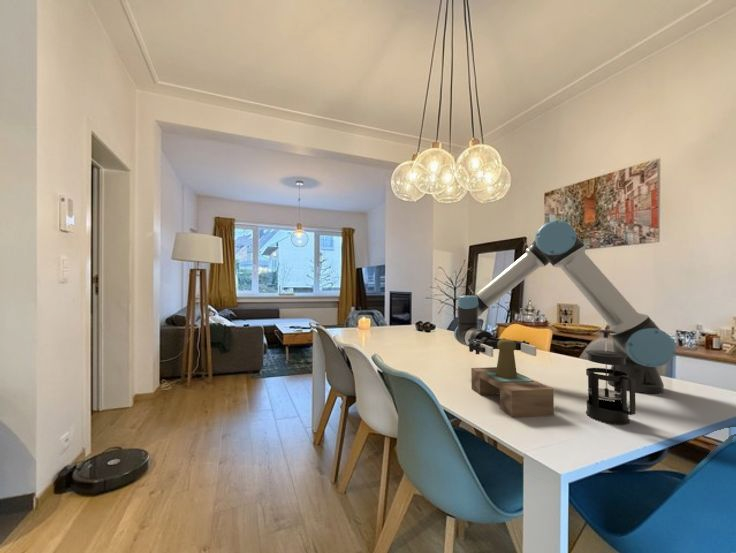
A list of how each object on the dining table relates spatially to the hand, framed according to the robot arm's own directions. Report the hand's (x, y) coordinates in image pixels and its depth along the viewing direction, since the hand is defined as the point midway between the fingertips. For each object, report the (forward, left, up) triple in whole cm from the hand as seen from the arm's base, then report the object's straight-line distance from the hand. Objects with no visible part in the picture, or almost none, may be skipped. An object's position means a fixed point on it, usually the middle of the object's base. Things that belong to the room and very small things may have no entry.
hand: (513, 351), depth 96 cm
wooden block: (+3, -2, -15) cm, 16 cm away
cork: (+3, -2, -8) cm, 9 cm away
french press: (-20, -11, -15) cm, 28 cm away
